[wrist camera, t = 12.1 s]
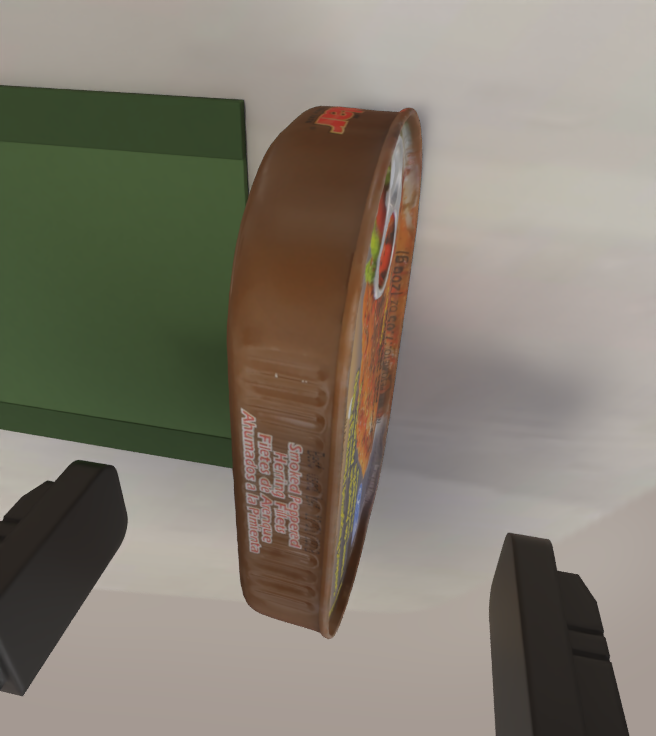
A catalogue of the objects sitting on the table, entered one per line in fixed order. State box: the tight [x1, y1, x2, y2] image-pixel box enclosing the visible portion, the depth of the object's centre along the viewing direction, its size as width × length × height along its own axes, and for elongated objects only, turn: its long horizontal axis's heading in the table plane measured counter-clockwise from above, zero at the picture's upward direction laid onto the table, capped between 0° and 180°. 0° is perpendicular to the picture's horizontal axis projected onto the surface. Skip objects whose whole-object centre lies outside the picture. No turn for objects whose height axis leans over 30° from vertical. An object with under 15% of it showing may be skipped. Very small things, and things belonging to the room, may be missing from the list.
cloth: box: [0, 85, 248, 468], centre depth 20 cm, size 14×14×1 cm
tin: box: [227, 106, 422, 639], centre depth 15 cm, size 15×3×8 cm, turn 176°
